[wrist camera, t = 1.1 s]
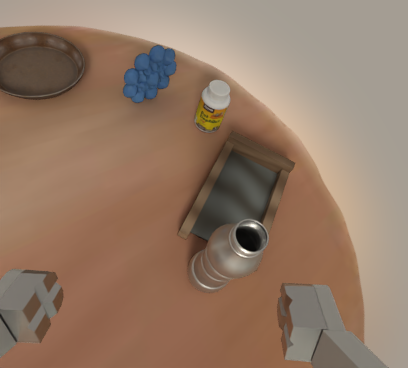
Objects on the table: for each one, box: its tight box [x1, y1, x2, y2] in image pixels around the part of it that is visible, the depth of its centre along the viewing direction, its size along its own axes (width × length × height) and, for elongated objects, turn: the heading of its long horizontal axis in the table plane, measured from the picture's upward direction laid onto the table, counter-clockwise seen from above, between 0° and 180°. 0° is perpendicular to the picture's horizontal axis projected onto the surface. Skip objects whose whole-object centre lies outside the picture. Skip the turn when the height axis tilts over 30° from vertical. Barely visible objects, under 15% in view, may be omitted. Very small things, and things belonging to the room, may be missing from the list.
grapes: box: [123, 45, 176, 103], centre depth 55 cm, size 12×7×12 cm, turn 127°
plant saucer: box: [0, 32, 85, 100], centre depth 55 cm, size 18×18×3 cm
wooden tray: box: [178, 131, 295, 272], centre depth 51 cm, size 23×14×4 cm, turn 155°
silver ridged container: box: [188, 219, 269, 293], centre depth 37 cm, size 6×7×20 cm
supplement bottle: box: [194, 80, 230, 133], centre depth 56 cm, size 6×6×10 cm
